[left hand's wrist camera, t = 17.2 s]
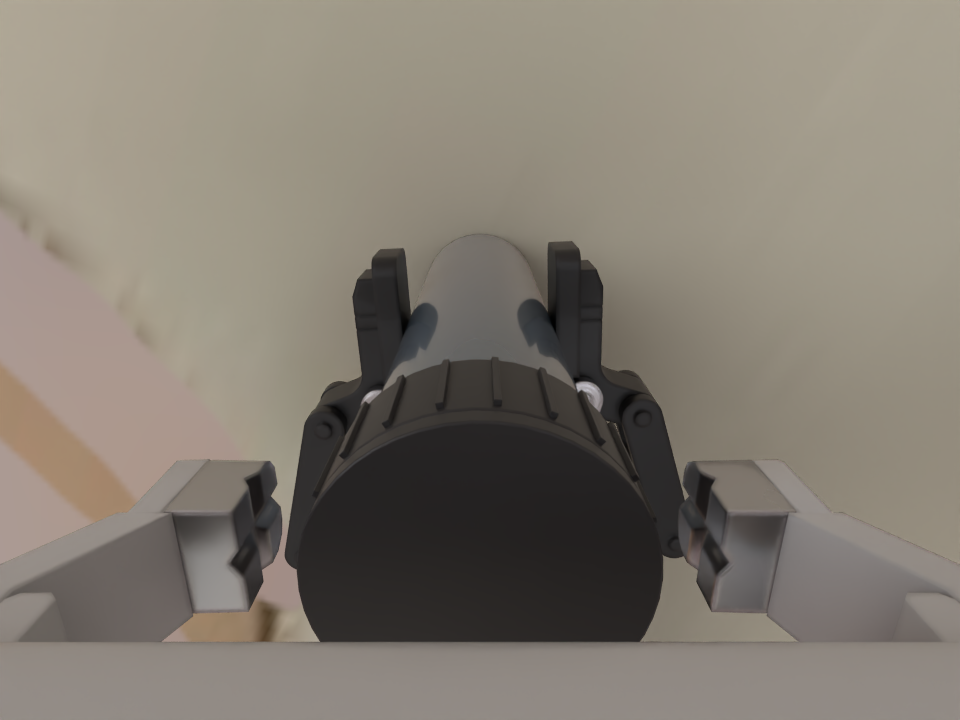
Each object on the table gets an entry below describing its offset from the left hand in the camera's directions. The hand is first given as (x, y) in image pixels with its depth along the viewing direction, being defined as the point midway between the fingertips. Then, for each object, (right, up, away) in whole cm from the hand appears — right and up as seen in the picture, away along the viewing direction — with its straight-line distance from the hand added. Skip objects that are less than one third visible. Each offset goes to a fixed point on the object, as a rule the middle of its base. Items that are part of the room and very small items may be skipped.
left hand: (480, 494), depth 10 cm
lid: (0, -1, -2) cm, 2 cm away
